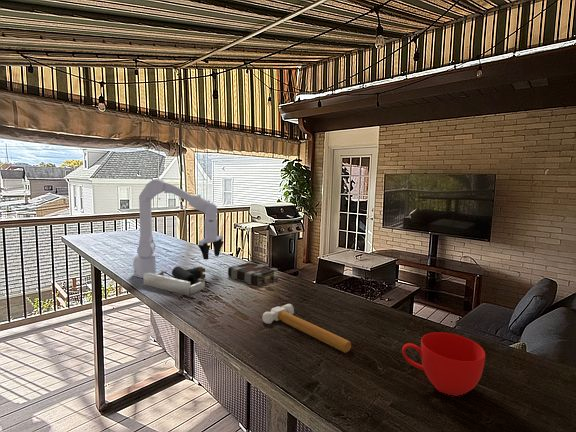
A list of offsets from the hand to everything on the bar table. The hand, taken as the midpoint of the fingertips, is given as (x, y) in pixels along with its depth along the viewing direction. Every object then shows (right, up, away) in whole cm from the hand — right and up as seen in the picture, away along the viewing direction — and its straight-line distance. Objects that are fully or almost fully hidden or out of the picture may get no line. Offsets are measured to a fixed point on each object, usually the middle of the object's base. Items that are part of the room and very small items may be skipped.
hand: (211, 257), depth 158 cm
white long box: (-11, -9, -18) cm, 23 cm away
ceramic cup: (+71, -19, -81) cm, 109 cm away
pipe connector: (-7, -9, -10) cm, 15 cm away
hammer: (+42, -16, -57) cm, 72 cm away
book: (+23, -9, -8) cm, 26 cm away
